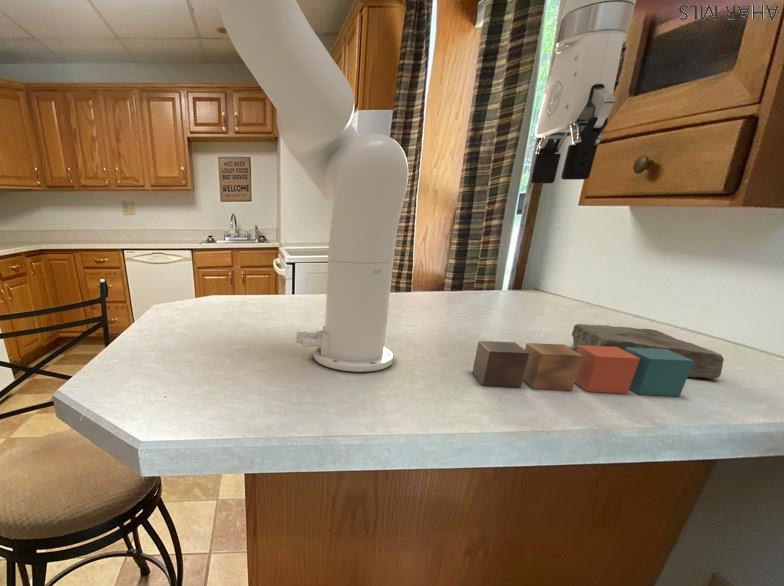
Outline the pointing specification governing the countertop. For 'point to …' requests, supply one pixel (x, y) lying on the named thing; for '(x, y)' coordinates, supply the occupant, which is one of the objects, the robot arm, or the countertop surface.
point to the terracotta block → (605, 369)
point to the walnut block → (500, 364)
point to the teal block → (659, 372)
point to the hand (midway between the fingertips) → (556, 181)
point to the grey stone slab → (649, 345)
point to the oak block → (551, 366)
